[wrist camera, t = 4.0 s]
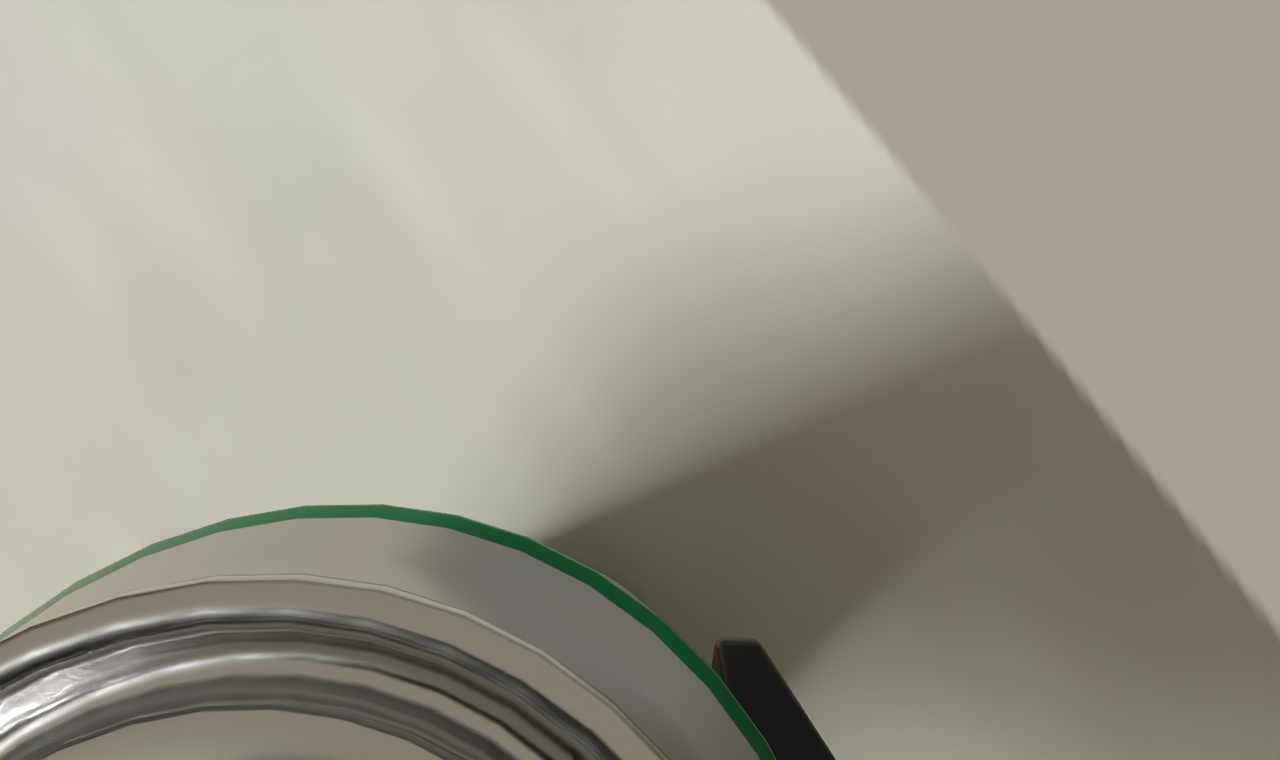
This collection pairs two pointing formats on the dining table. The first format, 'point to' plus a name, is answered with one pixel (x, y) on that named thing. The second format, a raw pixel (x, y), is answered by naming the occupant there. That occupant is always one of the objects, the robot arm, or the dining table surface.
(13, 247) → the dining table surface
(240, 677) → the soda can
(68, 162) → the dining table surface
